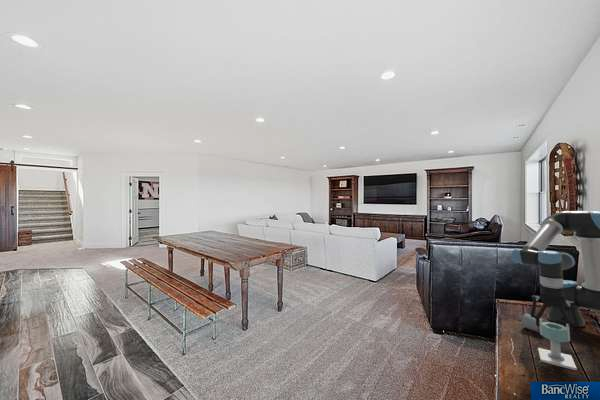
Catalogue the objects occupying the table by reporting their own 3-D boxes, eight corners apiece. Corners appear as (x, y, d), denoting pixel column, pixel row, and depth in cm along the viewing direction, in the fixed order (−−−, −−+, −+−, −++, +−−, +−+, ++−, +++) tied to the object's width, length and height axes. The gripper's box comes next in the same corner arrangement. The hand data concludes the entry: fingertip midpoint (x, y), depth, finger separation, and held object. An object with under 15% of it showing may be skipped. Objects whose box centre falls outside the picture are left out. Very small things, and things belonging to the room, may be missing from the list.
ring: (553, 332, 118) (553, 321, 118) (573, 341, 110) (572, 330, 110) (537, 333, 118) (536, 322, 118) (555, 342, 110) (554, 331, 110)
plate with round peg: (538, 349, 122) (536, 328, 122) (571, 357, 115) (569, 335, 115) (540, 361, 113) (539, 338, 113) (576, 370, 106) (575, 346, 106)
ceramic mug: (539, 335, 134) (538, 320, 134) (521, 328, 142) (520, 314, 142) (550, 331, 138) (550, 316, 138) (532, 324, 145) (531, 311, 146)
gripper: (520, 283, 119) (523, 332, 118) (587, 293, 105) (590, 348, 104) (521, 280, 124) (523, 326, 124) (584, 288, 110) (588, 341, 110)
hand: (554, 336), depth 114 cm, fingers closed on ring, 8 cm apart
